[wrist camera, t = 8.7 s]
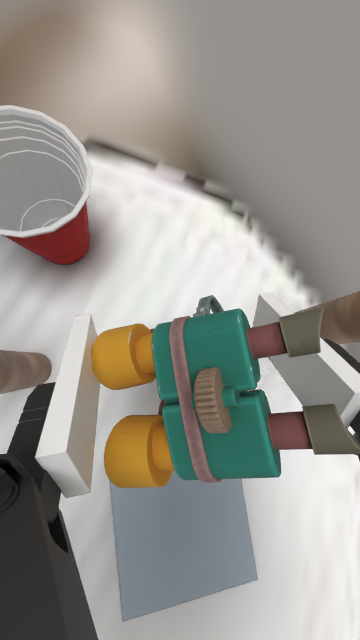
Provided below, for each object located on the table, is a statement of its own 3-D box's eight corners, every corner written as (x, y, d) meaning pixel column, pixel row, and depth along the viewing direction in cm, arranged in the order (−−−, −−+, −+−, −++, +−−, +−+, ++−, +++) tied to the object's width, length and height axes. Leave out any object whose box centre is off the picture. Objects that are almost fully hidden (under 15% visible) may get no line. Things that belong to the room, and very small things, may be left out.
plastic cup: (97, 296, 28) (63, 250, 17) (4, 272, 28) (-101, 206, 16) (122, 217, 31) (107, 128, 19) (37, 192, 30) (-35, 82, 18)
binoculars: (172, 318, 19) (63, 302, 10) (297, 283, 15) (308, 209, 6) (196, 441, 17) (95, 556, 8) (340, 436, 14) (436, 627, 5)
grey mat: (109, 463, 26) (108, 466, 25) (232, 437, 28) (234, 439, 27) (123, 615, 23) (122, 621, 23) (255, 574, 26) (257, 579, 25)
